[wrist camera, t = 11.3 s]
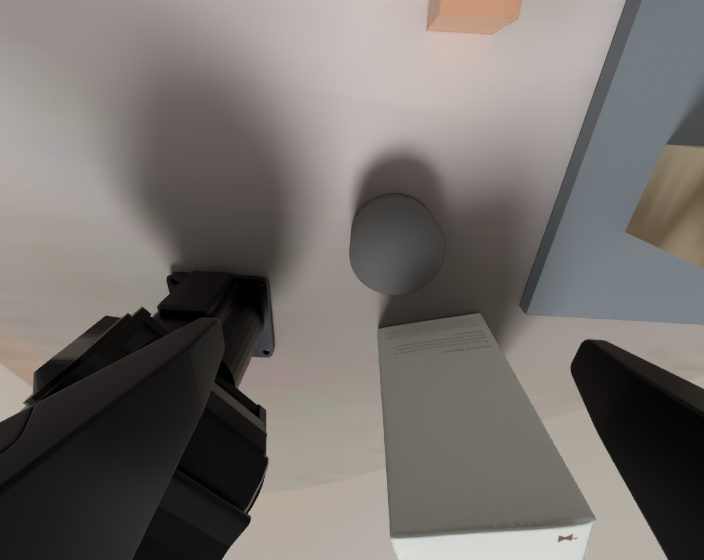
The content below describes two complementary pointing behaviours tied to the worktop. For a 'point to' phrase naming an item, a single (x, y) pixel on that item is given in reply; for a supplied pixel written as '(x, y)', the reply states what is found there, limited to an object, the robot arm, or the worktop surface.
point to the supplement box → (470, 452)
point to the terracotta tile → (472, 15)
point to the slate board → (626, 177)
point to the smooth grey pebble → (395, 244)
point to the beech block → (674, 205)
